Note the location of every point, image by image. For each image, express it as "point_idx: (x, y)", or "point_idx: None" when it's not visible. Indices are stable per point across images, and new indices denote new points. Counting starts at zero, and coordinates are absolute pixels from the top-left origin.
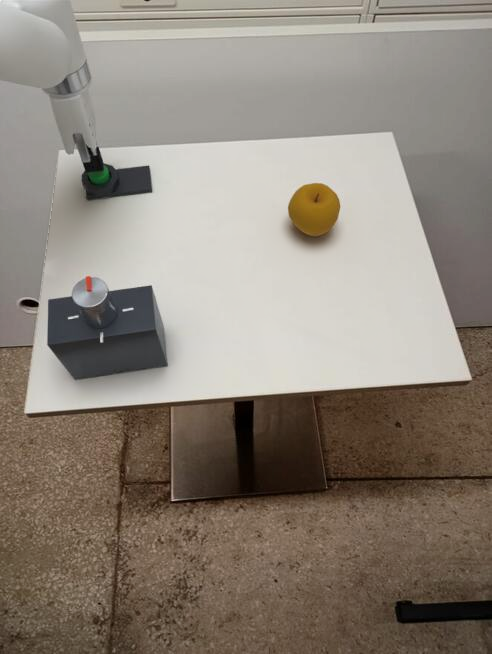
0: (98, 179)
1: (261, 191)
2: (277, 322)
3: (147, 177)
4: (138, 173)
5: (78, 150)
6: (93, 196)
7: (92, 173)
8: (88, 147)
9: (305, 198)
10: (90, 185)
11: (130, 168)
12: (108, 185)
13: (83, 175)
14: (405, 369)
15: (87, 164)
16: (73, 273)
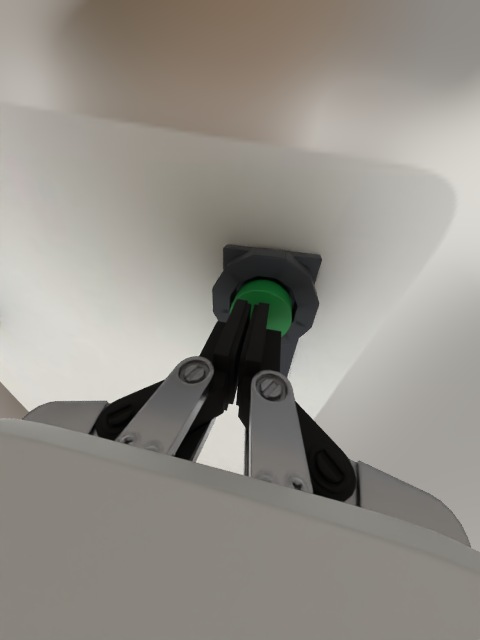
0: (230, 312)
1: (206, 445)
2: (56, 399)
3: None
4: None
5: (141, 409)
6: (223, 268)
7: (255, 303)
8: (240, 401)
9: None
10: (231, 279)
11: (288, 359)
12: (222, 321)
13: (281, 264)
14: None
15: (209, 338)
16: (10, 182)
